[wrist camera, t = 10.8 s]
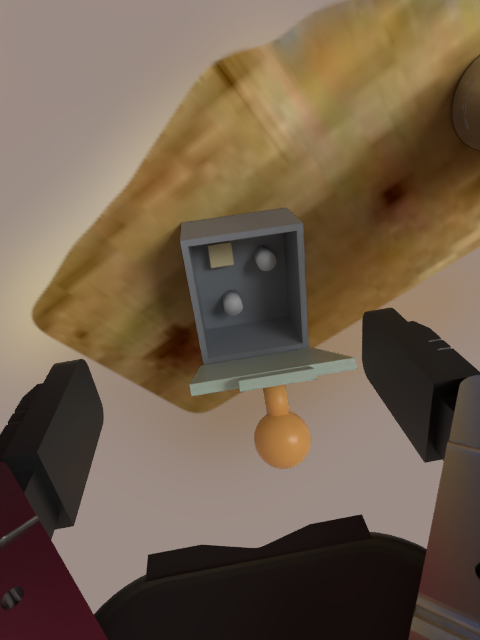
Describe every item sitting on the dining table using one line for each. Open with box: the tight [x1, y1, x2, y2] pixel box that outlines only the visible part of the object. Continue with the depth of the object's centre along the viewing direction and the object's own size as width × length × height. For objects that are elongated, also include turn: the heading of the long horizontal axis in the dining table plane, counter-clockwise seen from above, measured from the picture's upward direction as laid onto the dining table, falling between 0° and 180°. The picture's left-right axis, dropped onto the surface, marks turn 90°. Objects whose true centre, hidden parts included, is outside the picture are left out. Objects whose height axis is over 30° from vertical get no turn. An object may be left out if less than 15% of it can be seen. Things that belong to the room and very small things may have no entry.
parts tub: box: [180, 208, 309, 364], centre depth 42 cm, size 11×14×7 cm
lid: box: [190, 348, 357, 469], centre depth 33 cm, size 12×15×7 cm
